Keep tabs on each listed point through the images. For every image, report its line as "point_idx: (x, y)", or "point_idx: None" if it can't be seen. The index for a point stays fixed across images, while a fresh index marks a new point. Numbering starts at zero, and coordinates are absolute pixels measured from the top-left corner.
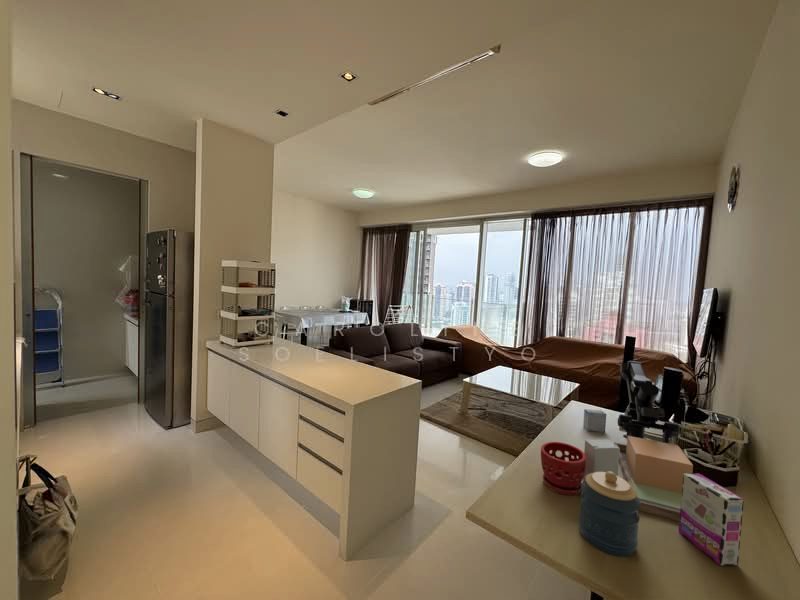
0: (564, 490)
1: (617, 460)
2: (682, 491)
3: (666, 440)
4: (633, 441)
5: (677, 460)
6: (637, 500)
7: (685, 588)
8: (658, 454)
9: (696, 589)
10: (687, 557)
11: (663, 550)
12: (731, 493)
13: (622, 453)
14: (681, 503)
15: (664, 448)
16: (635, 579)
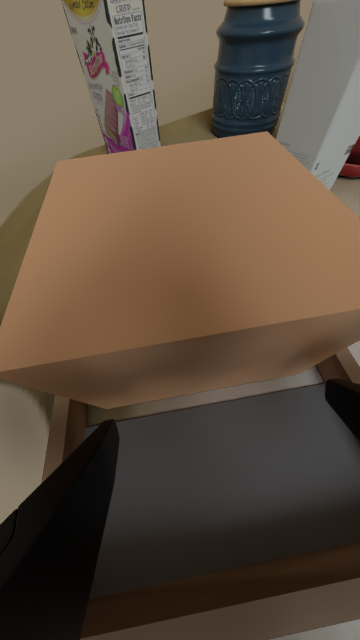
0: None
1: (295, 76)
2: (150, 59)
3: (46, 496)
4: (330, 217)
5: (108, 161)
6: (221, 25)
7: (170, 124)
8: (180, 162)
9: (162, 126)
10: (161, 145)
11: (185, 142)
12: None
13: (351, 483)
14: (154, 99)
15: (136, 234)
16: (209, 115)
